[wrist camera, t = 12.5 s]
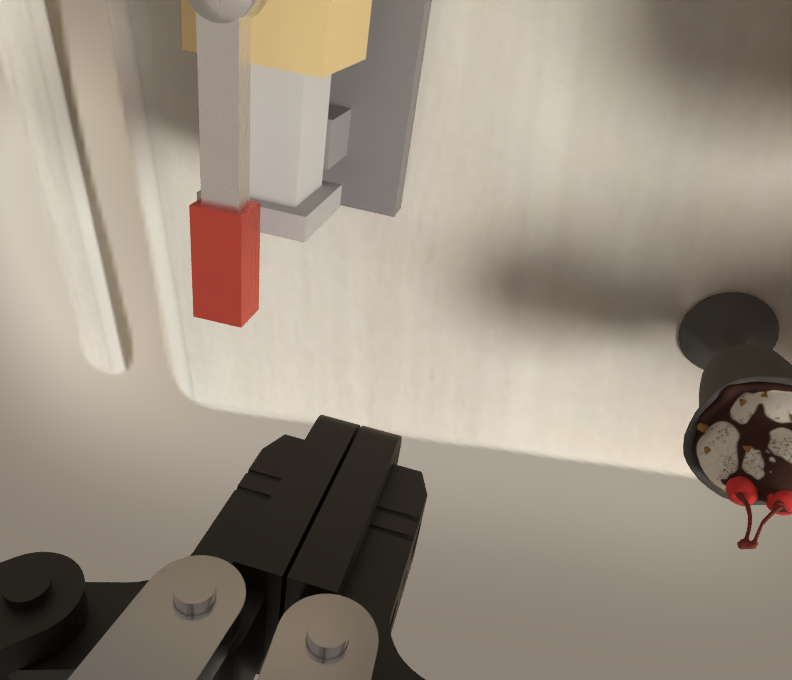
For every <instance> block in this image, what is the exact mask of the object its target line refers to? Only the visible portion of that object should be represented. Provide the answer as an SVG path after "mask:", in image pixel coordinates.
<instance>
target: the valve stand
mask: <svg viewBox="0 0 792 680" xmlns="http://www.w3.org/2000/svg"><path fill="white" fill-rule="evenodd" d="M431 1H432V0H267V2H266V4H265V6H264V7H263V9H262V10H261V11H260V12H259V13H258V14H257V15H256V16H254V17H252V18H251V85H250V200H252V201H257V202H260V232H262V233H266V234H270V235H274V236H279V237H283V238H287V239H292V240H296V241H300V242H305V241H306V240H307V239H308V238H309V237H310V236H311V235H312V234H313V233H314V232H315V231H316V230H317V229H318V228H319V227H320V226H321V225H322V224H323V223H324V222H325V221H326V220H327V219H328V218H329V217H330V216H331V215H332V214H333V213H334V212H335V211H336V210H337V209H338V208H339V207H340V205H343V206H347V207H352V208H356V209H361V210H365V211H370V212H374V213H379V214H383V215H388V216H392V217H394V216H395V215H396V214H397V212H398V211H399V210H400V208H401V201H402V194H403V188H404V181H405V174H406V168H407V161H408V154H409V148H410V141H411V134H412V128H413V121H414V114H415V108H416V101H417V94H418V87H419V81H420V74H421V67H422V61H423V54H424V47H425V41H426V34H427V27H428V21H429V14H430V7H431ZM181 39H182V50H185V51H190V52H195V53H197V35H196V11H195V10H194V9H193V8H192V7H191V5H190V4H189V2H188V0H181ZM199 199H201V190H200V191H199V192H197V200H199Z"/></svg>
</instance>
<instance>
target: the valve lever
mask: <svg viewBox="0 0 792 680" xmlns="http://www.w3.org/2000/svg"><path fill="white" fill-rule="evenodd" d="M188 2H189V4H190V5H191V7H192V8H193V9H194V10H195V11H196V35H197V70H198V105H199V140H200V175H201V199H199V200H197V201H196V202H194V203H192V204H191V205H189V209H190V235H191V262H192V288H193V315H194V317H198V318H202V319H207V320H211V321H215V322H219V323H224V324H228V325H232V326H237V327H242V326H243V325H244V324H245V323H246V322H247V321H248V320H249V319H250V318H251V317H252V316H253V315H254V314H255V313H256V311H257V310H258V309H259V255H260V202H257V201H252V200H250V85H251V18H252V17H254V16H256V15H257V14H258V13H259V12H260V11H261V10H262V9H263V7H264V6H265V4H266V2H267V0H188Z"/></svg>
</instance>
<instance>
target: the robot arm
mask: <svg viewBox="0 0 792 680" xmlns="http://www.w3.org/2000/svg"><path fill="white" fill-rule="evenodd" d="M401 439H402V437H401V436H399V435H395V434H392V433H388V432H384V431H381V430H377V429H373V428H369V427H366V426H362V427H360V425H358V424H354V423H350V422H346V421H343V420H339V419H335V418H332V417H328V416H324V415H320V416H319V417H318V419H317V420H316V422H315V423H314V425H313V427H312V429H311V430H310V432H309V434H308V435H307V437H306V439H305V440H303V439H300V438H296V437H292V436H289V435H283V436H282V437H280V438H279V439H277V440H276V441H274V442H273V443H271V444H270V445H268V446H266V447H265V448H263V449H262V450H261V452H260V453H259V455H258V456H257V458H256V459H255V461H254V462H253V464H252V465H251V467H250V468H249V471H248V473H246V474H245V476H244V477H243V479H242V480H241V482H240V483H239V485H238V487H237V490H235V491H234V492H233V494H232V495H231V497H230V498H229V500H228V501H227V503H226V504H225V506H224V507H223V509H222V510H221V512H220V513H219V515H218V516H217V518H216V519H215V520H214V522H213V523H212V525H211V526H210V528H209V530H208V531H207V532H206V534H205V535H204V537H203V538H202V540H201V541H200V543H199V544H198V546H197V547H196V549H195V550H194V552H193V553H192V554H191V556H188V557H184V558H181V559H178V560H175V561H173V562H171V563H169V564H167V565H165V566H164V567H162V568H161V569H160V570H159V571H157V572H156V574H154V575H153V576H152V578H151V579H150V580H147V581H141V582H129V583H120V582H117V583H116V582H112V583H111V582H85V579H84V575H83V572H82V570H81V568H80V567H79V565H78V564H77V563H76V562H75V561H74V560H72V559H71V558H69V557H67V556H64V555H62V554H57V553H51V552H35V553H29V554H24V555H21V556H18V557H14V558H12V559H9V560H6V561H4V562H1V563H0V680H253V679H254V677H255V675H256V674H259V677H258V680H425V679H424V678H422V677H421V676H419V675H418V674H417V673H416V672H414V671H413V670H412V669H411V668H410V667H409V666H408V665H407V664H406V663H405V662H404V661H403V659H402V658H401V657H400V655H399V654H398V652H397V650H396V648H395V646H394V643H393V641H392V637H391V632H392V628H393V625H394V621H395V618H396V615H397V611H398V608H399V605H400V601H401V598H402V594H403V591H404V588H405V584H406V580H407V577H408V574H409V570H410V567H411V564H412V561H413V557H414V553H415V549H416V544H417V539H418V535H419V530H420V526H421V521H422V516H423V512H424V508H425V503H426V498H427V492H426V488H425V483H424V479H423V475H422V472H420V471H417V470H413V469H409V468H406V467H402V466H398V465H397V463H398V457H399V452H400V447H401Z"/></svg>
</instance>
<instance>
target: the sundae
mask: <svg viewBox="0 0 792 680" xmlns="http://www.w3.org/2000/svg"><path fill="white" fill-rule="evenodd" d="M778 332H779V328H778V321H777V319H776V316H775V314H774V313H773V311H772V309H771V308H770V307H769V306H768V305H766V304H765V303H764V302H763V301H761V300H759V299H758V298H756V297H753V296H750V295H746V294H741V293H726V294H719V295H716V296H713V297H710V298H708V299H706V300H704V301H702V302H700V303H698V304H697V305H696V306H695V307H694V308H693V309H692V310H691V311H690V312H689V313H688V314H687V315H686V317H685V318H684V320H683V322H682V325H681V328H680V331H679V340H680V346H681V348H682V351H683V353H684V354H685V356H686V357H687V359H688V360H690V361H691V362H692V363H693V364H695V365H696V366H698V367H699V368H701V369H704V371H703V374H702V378H701V383H700V390H699V408H698V410H697V411H696V412H695V414H694V416H693V418H692V420H691V421H690V423H689V426H688V428H687V430H686V433H685V435H684V444H683V452H684V456H685V459H686V462H687V464H688V465H689V467H690V469H691V470H692V472H693V473H694V474H695V475H696V477H697V478H698V479H699V480H700V481H701V482H702V483H703V484H705V485H706V486H707V487H708V488H709V489H711V490H712V491H714V492H715V493H717V494H718V495H720V496H721V497H724V498H727V499H730V500H731V501H732V502H734V503H735V504H738V505H741V506H745V507H746V510H747V514H748V527H747V532H746V535H745V538H744V539H741V540H740V541H739V542H738V543H737V544H738V547H739V548H740V549H755V548H756V547H757V545H758V542H757V539H758V537H759V534H760V532H761V529H762V526H763V524H765V523H766V522H767V521H768V519H770V518H771V517H772V516H773V515H774V514H775V513H776V514H779V515H790V514H792V365H791V364H790V363H789V362H787V361H786V360H785V359H784V358H783V357H782V356H781V355H779V354H778V353H776V352H774V351H773V350H772V349H773V348H774V346H775V344H776V342H777V339H778ZM750 505H767V507H768V508H769V509H770V510H771V512H770V513H769V514H768V515H767V516H766V517H765V518H764V519H763V520H762V522H761V524H760V526H759V528H758V531H757V533H756V535H755V538H754V539H753V540H752V541H749V535H750V531H751V525H752V514H751V508H750Z"/></svg>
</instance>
